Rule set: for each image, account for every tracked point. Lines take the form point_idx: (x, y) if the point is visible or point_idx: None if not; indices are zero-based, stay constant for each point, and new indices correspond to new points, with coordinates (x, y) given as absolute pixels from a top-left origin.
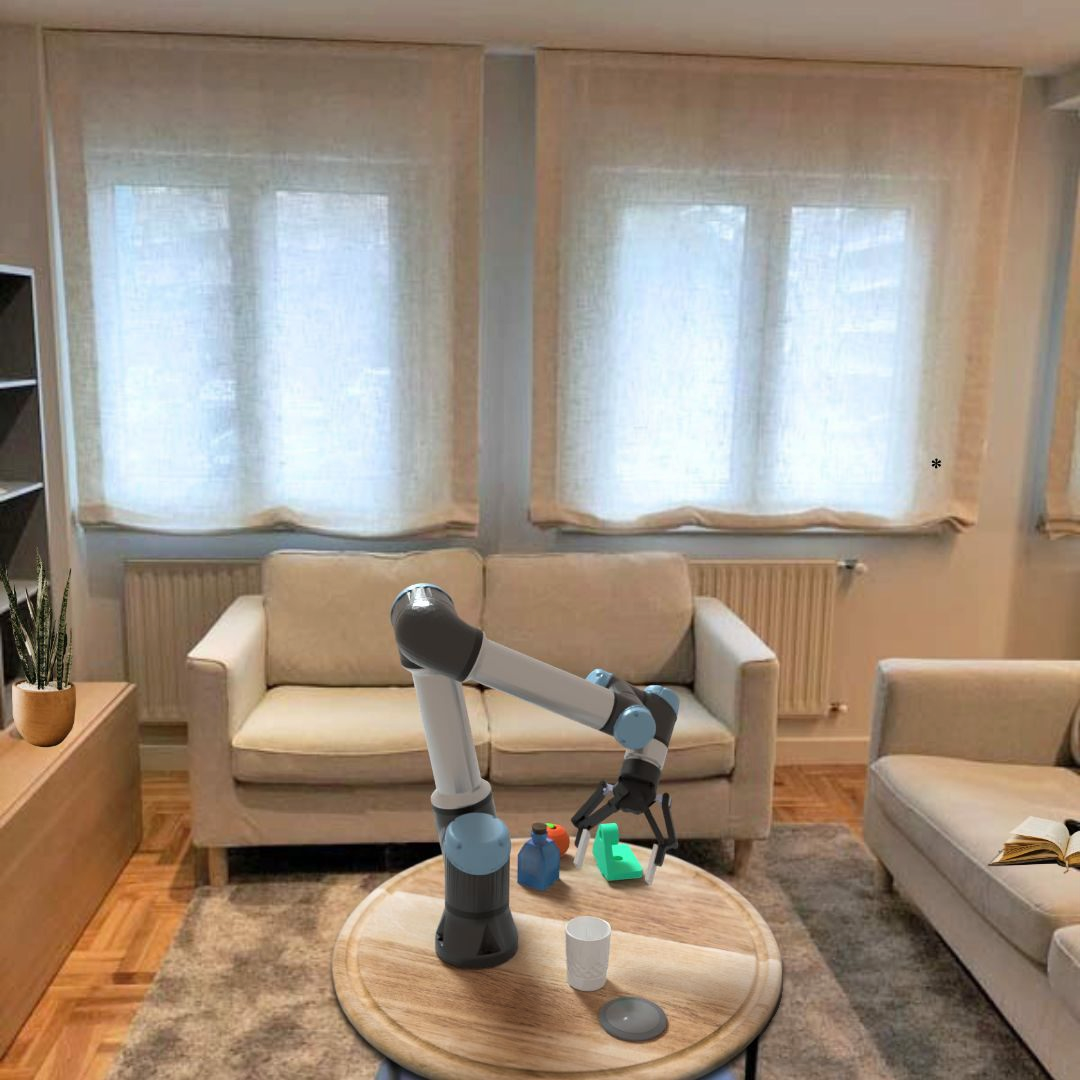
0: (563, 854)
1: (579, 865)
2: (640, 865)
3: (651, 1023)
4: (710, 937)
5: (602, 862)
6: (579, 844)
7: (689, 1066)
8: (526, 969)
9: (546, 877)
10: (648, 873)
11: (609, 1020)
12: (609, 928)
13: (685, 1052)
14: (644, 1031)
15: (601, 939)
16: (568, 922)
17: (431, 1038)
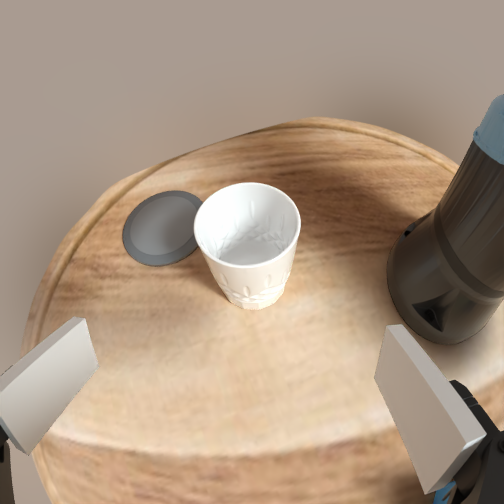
0: None
1: (380, 357)
2: None
3: (139, 221)
4: (96, 472)
5: None
6: (438, 374)
7: (104, 192)
8: (353, 265)
9: (447, 498)
10: (65, 328)
11: (190, 204)
12: (200, 241)
13: (106, 206)
14: (146, 205)
15: (206, 200)
16: (298, 222)
17: (355, 136)
